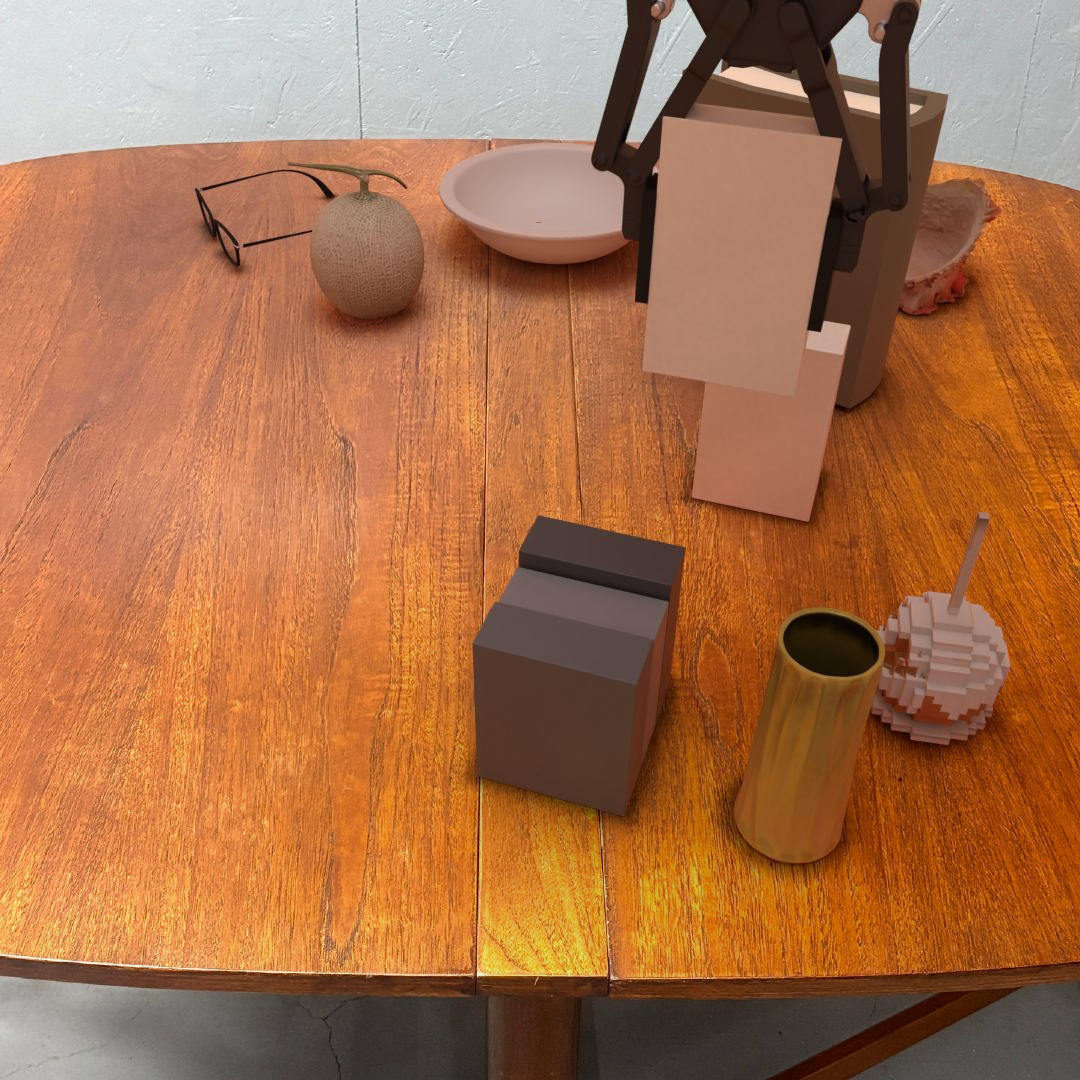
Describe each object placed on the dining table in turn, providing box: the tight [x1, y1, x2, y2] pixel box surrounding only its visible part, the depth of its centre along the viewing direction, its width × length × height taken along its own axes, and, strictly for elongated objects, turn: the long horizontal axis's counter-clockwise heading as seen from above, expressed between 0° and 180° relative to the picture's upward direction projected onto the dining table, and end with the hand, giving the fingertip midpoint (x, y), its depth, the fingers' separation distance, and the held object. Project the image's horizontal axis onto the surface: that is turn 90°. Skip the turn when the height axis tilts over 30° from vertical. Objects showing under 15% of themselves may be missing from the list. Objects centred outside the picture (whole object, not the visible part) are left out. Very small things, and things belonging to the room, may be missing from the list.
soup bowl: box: [438, 142, 659, 265], centre depth 120 cm, size 24×24×7 cm
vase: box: [733, 606, 885, 864], centre depth 61 cm, size 6×6×14 cm
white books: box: [691, 321, 851, 522], centre depth 85 cm, size 6×9×14 cm
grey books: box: [471, 514, 687, 817], centre depth 67 cm, size 11×9×12 cm
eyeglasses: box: [194, 169, 336, 268], centre depth 122 cm, size 16×16×4 cm
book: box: [681, 59, 949, 410], centre depth 96 cm, size 19×8×25 cm, turn 57°
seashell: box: [899, 177, 1003, 316], centre depth 114 cm, size 17×11×15 cm
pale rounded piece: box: [871, 511, 1011, 746], centre depth 68 cm, size 8×8×15 cm
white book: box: [641, 103, 842, 398], centre depth 63 cm, size 2×9×15 cm, turn 72°
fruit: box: [287, 161, 425, 320], centre depth 106 cm, size 10×12×15 cm
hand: (730, 305), depth 65 cm, fingers closed on white book, 9 cm apart
